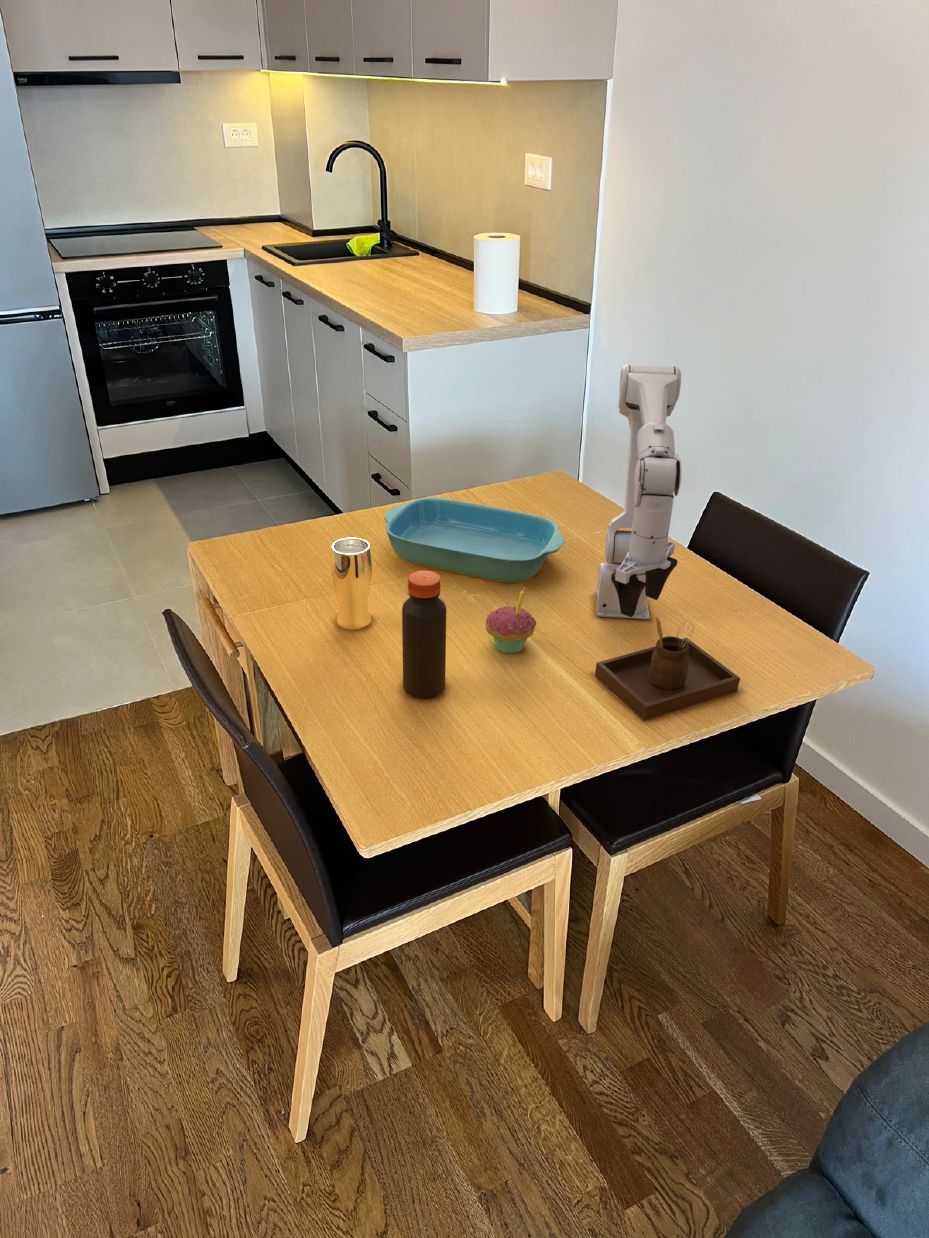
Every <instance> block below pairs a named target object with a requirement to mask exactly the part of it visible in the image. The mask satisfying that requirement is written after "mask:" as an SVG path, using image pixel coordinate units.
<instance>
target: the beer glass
mask: <svg viewBox="0 0 929 1238" xmlns="http://www.w3.org/2000/svg"><path fill="white" fill-rule="evenodd" d="M330 548H331V555H330V567H331V568H330V569H331V578H332V583H333V588H334V591H335V593H336V595H335V596H336V600H337V615H336V624H337V625H338V626H339V627H340V628H342V629H345V630H349V631H356V630H362V629H364V628H366V627H368V626H369V625H370V624H371V622H372V617H371V612H370V609H369V597H370V591H371V584H372V578H373V577H372V576H373V565H372V564H373V563H372V562H373V561H372V554H371V553H372V552H371V543H370V542H369V541H367V540H366V539H363V538H359V537H344V538H340V539H338V540H335V541H334V542H333V543H332V544H331V547H330Z"/></svg>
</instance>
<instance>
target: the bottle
mask: <svg viewBox="0 0 929 1238" xmlns="http://www.w3.org/2000/svg"><path fill="white" fill-rule="evenodd" d="M441 584H442V578H441V576H440V575H439V573H437V572H435V571H431V570H417V571H414V572H412V573H410V574H409V575H408V576H407V592H408V596H409V597H408V598H407V599H406V600H405V601H404V603H402V607H401V620H402V621H401V636H402V638H401V639H402V688H403V691H404V692H405V693H406V694H407V695H409V696H410V697H412V698H416V699H423V700H427V699H433V698H435V697H438V696H439V695H441V694H442V693H443V692H444V690H445V688H446V668H447V667H446V665H447V660H446V659H447V657H446V656H447V605H446V603H445V601H444V600H443V599H441V598H440V596H441V586H442V585H441Z"/></svg>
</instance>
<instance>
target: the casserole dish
mask: <svg viewBox="0 0 929 1238" xmlns="http://www.w3.org/2000/svg"><path fill="white" fill-rule="evenodd" d="M384 521H385V522H386V525H385V531H386V534H387V537H388V540H389V543H390V546H391V547H392V549H393V551H394V553H395V554H396V555H397V556H398V557H400V558H401V559H402V560H404V561H406V562H409V563H411V564H415V565H418V566H421V567H426V568H430V569H436V570H439V571H444V572H449V573H454V574H460V575H463V576H468V577H473V578H477V579H478V578H479V579H483V580H487V581H494V582H500V583H507V584H521V583H524V582H526V581H527V580H529V579H532V578H534V576H535V575H536V574H537V573H538V572H539V570H540V569H541V568H542V566H543V565H544V563H545V561H546V560H547V558H548V556H549V555H550V554H553V553H556V552H559V551H560V549H561V548H562V547H563V545H564V543H565V537H564V535H563V534H562V533H561V532H560V528H559V527H560V526H559V525H558V524H557V523H556V522H555V521H554V520H551V519H549V518H546V517H543V516H539V515H537V514H531V513H526V512H521V511H516V510H511V509H505V508H500V507H496V506H495V507H494V506H489V505H484V504H478V503H473V502H466V501H460V500H455V499H448V498H442V497H424V498H418V499H414V500H412V501H410V502H407V503H403V504H401V505H397V506H394V507H393V508H391V509H390V510H388V511H387V512H386V514H385V515H384Z"/></svg>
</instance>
